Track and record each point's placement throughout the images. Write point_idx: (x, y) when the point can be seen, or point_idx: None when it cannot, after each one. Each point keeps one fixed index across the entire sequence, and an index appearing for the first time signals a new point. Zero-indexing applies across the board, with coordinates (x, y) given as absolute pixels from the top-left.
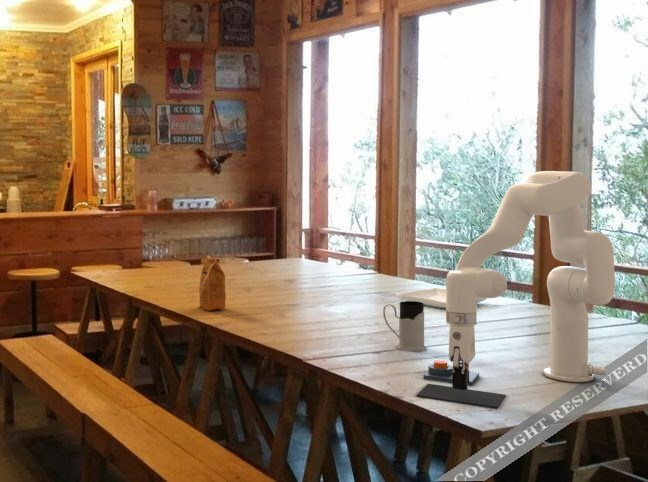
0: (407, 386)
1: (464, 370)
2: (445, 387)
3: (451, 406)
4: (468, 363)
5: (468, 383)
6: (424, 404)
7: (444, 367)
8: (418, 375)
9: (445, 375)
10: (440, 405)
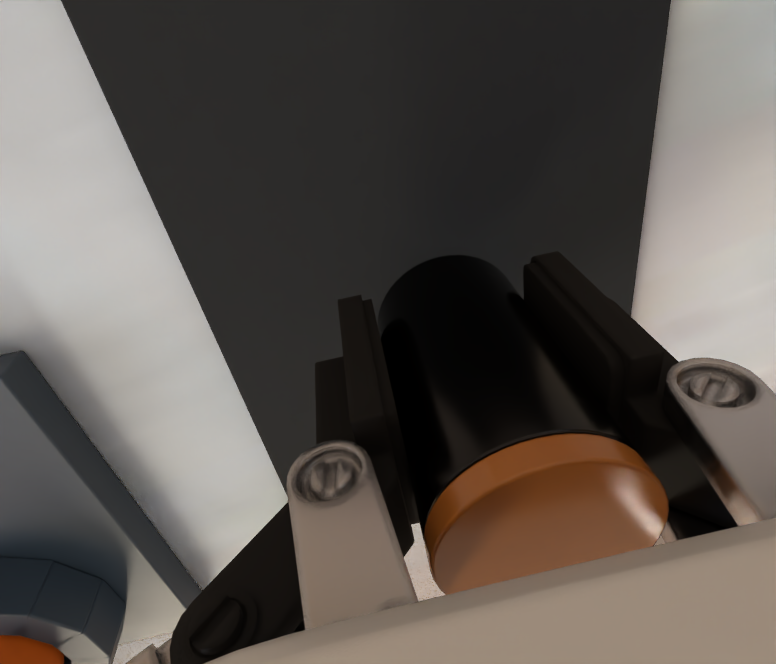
0: (424, 572)
1: (614, 421)
2: (308, 447)
3: (760, 207)
4: (341, 540)
5: (363, 300)
6: (764, 363)
7: (7, 647)
8: (152, 639)
9: (67, 567)
10: (757, 281)
